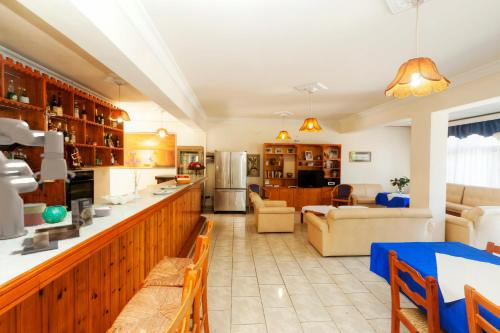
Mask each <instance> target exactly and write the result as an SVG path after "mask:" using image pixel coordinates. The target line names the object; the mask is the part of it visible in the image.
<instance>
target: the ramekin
mask: <svg viewBox="0 0 500 333" xmlns="http://www.w3.org/2000/svg"><path fill="white" fill-rule="evenodd" d="M93 210H94V214H95V216H96V217H97V218H102V217H109V216H111V215H112V212H113V206H100V207H99V206H98V207H95V208H94V209H93Z"/></svg>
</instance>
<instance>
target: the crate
mask: <svg viewBox="0 0 500 333" xmlns="http://www.w3.org/2000/svg"><path fill="white" fill-rule="evenodd" d="M42 232H48V242H52V241H62V240H68V239H74V238H80V237H81V236H80V228H79V226H78V223H77V224H72V223H71V224H63V225H57V226H56V225H55V226H50V227H42V228H35V231H34V234H35V233H42Z"/></svg>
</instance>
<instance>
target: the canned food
mask: <svg viewBox="0 0 500 333" xmlns="http://www.w3.org/2000/svg"><path fill="white" fill-rule="evenodd" d="M45 208H46V209H47V203H43V202H40V203H39V202H38V203H30V204H28V203H27V204H23V209H24V228H25V227H27V228H28V227H31V228H32V227H38V225H39V226H43V225H45V221H44V219H43V217H42V213H43V212H44V210H45ZM42 224H43V225H42Z"/></svg>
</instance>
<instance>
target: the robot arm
mask: <svg viewBox="0 0 500 333" xmlns="http://www.w3.org/2000/svg"><path fill="white" fill-rule="evenodd" d="M14 143H15V144H16V143H17V144H21V145H24V146H30V147H31V146H32V147H33V146H34V147H43V148H44V149H43V151H44V153H40V157H41V158H43V159H41V165H40V166H41V167H40V171H37V172H35V173H34V172H33V170H32V169H31V167H30V166H29V164H28V163H27V162H26V161H25V160H22V159H9V158H7V157H6V156H5V154H4V153H3V151H2V150H0V240H8V239H9V240H10V239H14V238H20V237H22V236H26V235H28V234H29V230H27V229H25V227H24V209H23V205H24V200H23V199H22V197H21V196H20V195H19V194H23V193H30V192H34V191H36V190H37V189H38V190H39V191H40V192H41V193H42V192H45V191H44V190H45V189H44V181H45V180H49V181H50V180H51V181H52V180H64V181H65V191H68V189H70V182H71V181H73V180H74V178H75V176H76V173H75V172H72V171H70V170H68V165H67V161H66V159H64V157H65V155H64V148H65V147H64V134H63V132H60V131H53V130H52V131H44V130H36V129H35V130H34V129H30V126H29V124H28V123H27V122H26V121H25V120H22V119H17V118H16V119H15V118H8V117H0V146H1V145H4V146H5V145H8V146H9V145H13V144H14ZM39 175H40V179H39V178H38V177H37V176H39ZM68 175H70V177H69V178H68Z"/></svg>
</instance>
